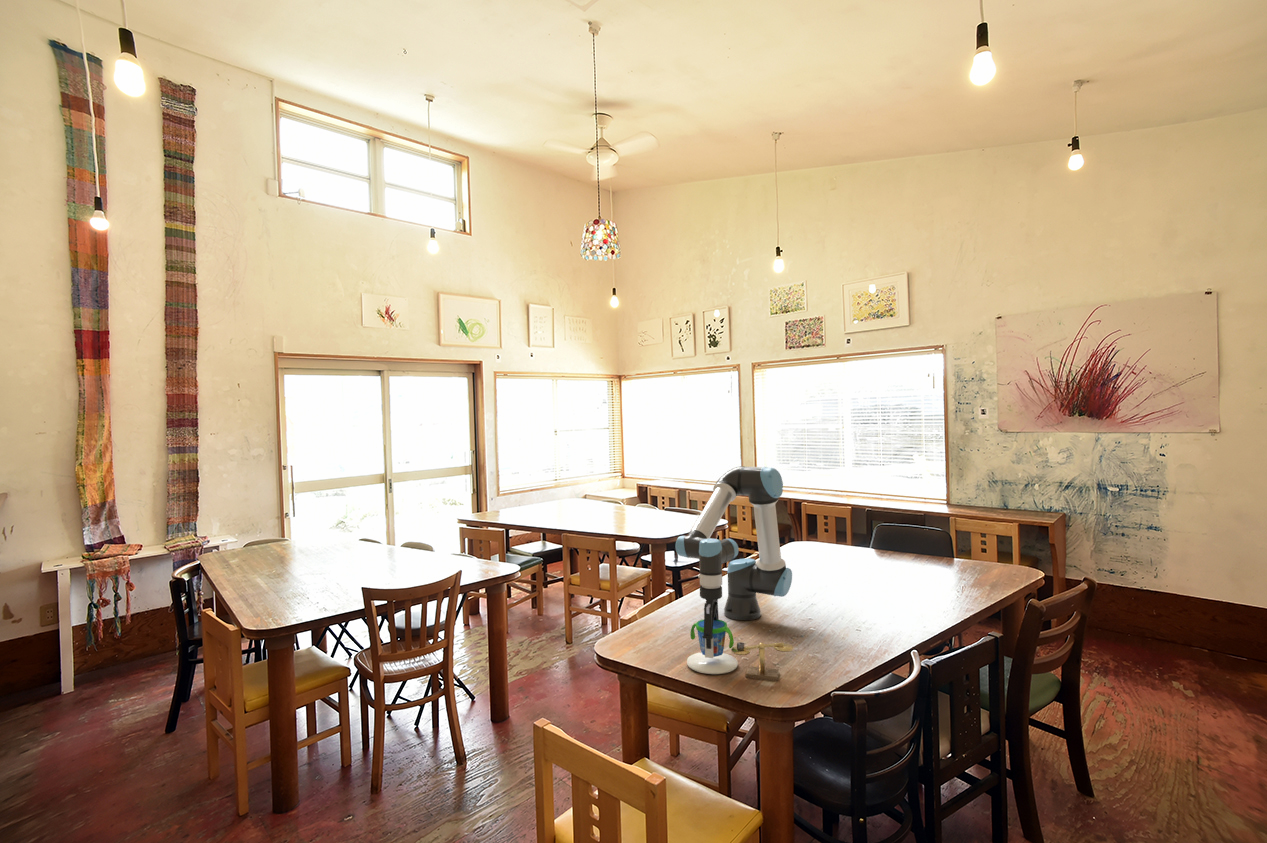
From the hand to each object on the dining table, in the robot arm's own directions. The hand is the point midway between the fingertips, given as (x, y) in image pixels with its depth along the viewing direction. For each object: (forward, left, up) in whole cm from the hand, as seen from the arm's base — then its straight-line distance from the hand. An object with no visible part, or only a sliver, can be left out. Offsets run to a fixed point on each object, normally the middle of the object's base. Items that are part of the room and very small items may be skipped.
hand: (711, 651), depth 204 cm
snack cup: (0, 0, -1) cm, 1 cm away
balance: (+4, +17, -5) cm, 18 cm away
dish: (0, 0, -5) cm, 5 cm away
